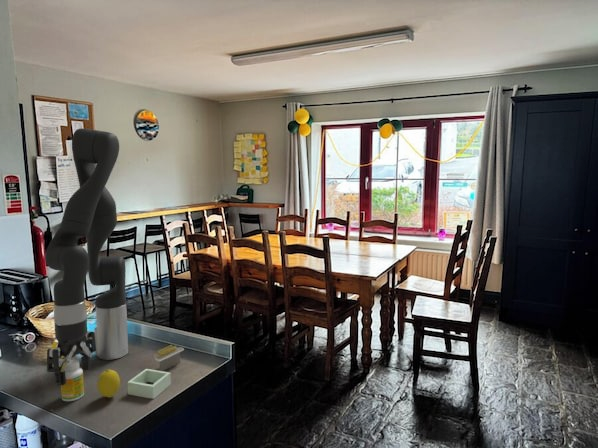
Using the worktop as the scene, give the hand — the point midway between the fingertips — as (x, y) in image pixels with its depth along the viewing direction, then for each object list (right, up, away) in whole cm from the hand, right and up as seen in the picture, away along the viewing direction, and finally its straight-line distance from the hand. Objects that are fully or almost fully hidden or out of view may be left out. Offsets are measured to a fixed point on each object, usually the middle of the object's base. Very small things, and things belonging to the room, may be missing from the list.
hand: (74, 376), depth 111 cm
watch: (-18, -3, +25) cm, 31 cm away
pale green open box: (+19, -5, +5) cm, 20 cm away
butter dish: (+19, -4, +19) cm, 28 cm away
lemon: (+9, -6, +1) cm, 11 cm away
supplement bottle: (-1, -6, +1) cm, 6 cm away
